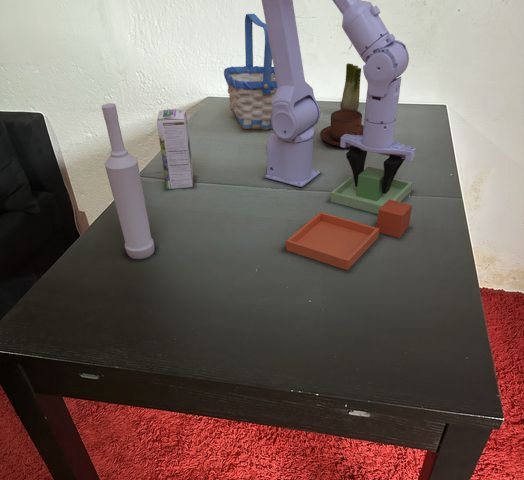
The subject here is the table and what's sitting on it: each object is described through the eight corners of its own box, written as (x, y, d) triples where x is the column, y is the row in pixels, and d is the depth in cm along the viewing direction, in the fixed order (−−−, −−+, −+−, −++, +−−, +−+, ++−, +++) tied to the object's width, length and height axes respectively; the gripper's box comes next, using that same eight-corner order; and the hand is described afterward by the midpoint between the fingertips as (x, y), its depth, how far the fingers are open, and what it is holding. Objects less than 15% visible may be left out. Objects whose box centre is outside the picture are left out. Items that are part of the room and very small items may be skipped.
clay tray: (285, 250, 93) (285, 240, 92) (319, 220, 100) (320, 211, 99) (347, 270, 88) (348, 260, 86) (378, 237, 95) (379, 228, 94)
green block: (356, 196, 106) (358, 174, 103) (366, 187, 109) (368, 166, 106) (376, 201, 104) (379, 179, 101) (386, 192, 107) (389, 171, 104)
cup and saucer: (377, 137, 129) (380, 111, 125) (356, 154, 122) (359, 127, 118) (333, 128, 134) (335, 103, 130) (311, 145, 127) (312, 118, 123)
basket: (299, 131, 134) (300, 25, 118) (235, 139, 131) (228, 31, 115) (279, 105, 148) (278, 7, 132) (222, 111, 146) (214, 13, 130)
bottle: (160, 246, 95) (132, 101, 78) (147, 261, 92) (114, 113, 75) (135, 242, 97) (102, 98, 80) (121, 257, 93) (83, 110, 76)
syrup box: (167, 178, 116) (156, 109, 106) (194, 176, 116) (185, 107, 106) (166, 189, 112) (154, 119, 102) (194, 187, 112) (185, 117, 102)
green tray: (330, 201, 106) (330, 192, 104) (357, 178, 113) (358, 169, 112) (386, 216, 100) (387, 207, 99) (411, 191, 108) (412, 182, 106)
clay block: (375, 231, 97) (378, 209, 93) (385, 221, 99) (389, 199, 96) (398, 238, 95) (402, 215, 92) (408, 227, 97) (412, 205, 94)
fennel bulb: (359, 116, 140) (364, 67, 132) (341, 117, 140) (344, 67, 132) (356, 109, 144) (360, 60, 136) (338, 109, 144) (341, 61, 136)
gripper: (426, 118, 96) (413, 188, 105) (354, 105, 102) (348, 172, 111) (411, 131, 91) (399, 203, 101) (337, 117, 98) (332, 185, 107)
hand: (372, 188), depth 106 cm, fingers open, 5 cm apart
